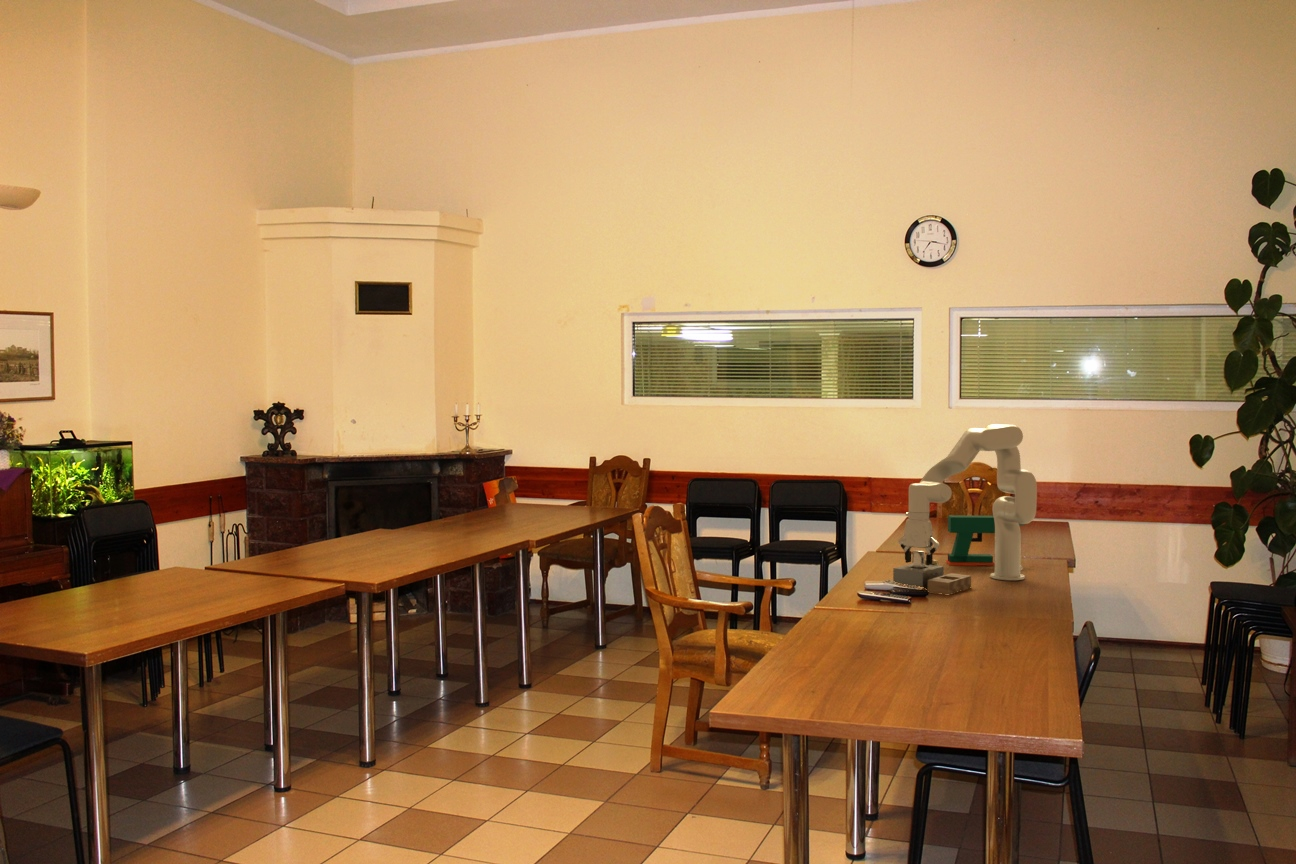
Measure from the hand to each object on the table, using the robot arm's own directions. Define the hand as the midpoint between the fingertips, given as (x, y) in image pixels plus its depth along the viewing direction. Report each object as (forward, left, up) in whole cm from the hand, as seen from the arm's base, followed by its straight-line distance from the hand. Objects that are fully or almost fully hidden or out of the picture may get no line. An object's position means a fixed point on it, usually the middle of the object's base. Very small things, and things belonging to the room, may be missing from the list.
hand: (918, 563), depth 395 cm
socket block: (0, 0, -9) cm, 9 cm away
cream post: (0, 0, -9) cm, 9 cm away
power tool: (-62, -2, -9) cm, 63 cm away
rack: (0, +13, -9) cm, 15 cm away
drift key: (-7, 0, -7) cm, 10 cm away
